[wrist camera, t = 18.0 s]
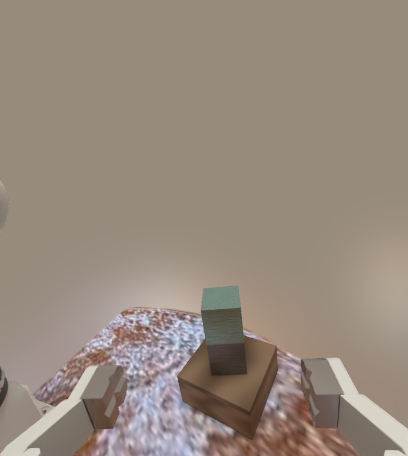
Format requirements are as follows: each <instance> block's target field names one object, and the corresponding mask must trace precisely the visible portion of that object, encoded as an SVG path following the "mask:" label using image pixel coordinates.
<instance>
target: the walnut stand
mask: <svg viewBox="0 0 408 456" xmlns="http://www.w3.org/2000/svg"><path fill="white" fill-rule="evenodd" d="M243 336H244V335H243ZM244 346H245V356H246V366H247V374H244V375H221V376H211V370H210V364H209V358H208V351H207V345H206V339H205V340H204V341H203V342H202V344H201V345H200V346H199V348H198V349H197V350H196V352H195V353H194V354H193V356H192V357H191V358H190V360H189V361H188V362H187V364H186V365H185V366H184V368H183V369H182V370H181V372H180V373H179V374H178V376H177V377H178V382H179V386H180V391H181V395H182V400H183V401H184V402H185V403H187V404H189V405H191V406H193V407H194V408H196V409H198V410H200V411H202V412H203V413H205V414H207V415H209V416H211V417H212V418H214V419H216V420H218V421H220V422H221V423H223V424H225V425H227V426H229V427H230V428H232V429H234V430H236V431H238V432H239V433H241V434H243V435H245V436H247V437H248V438H250V439H252V440H253V437H254V434H255V431H256V429H257V426H258V423H259V420H260V418H261V415H262V412H263V409H264V407H265V404H266V401H267V398H268V396H269V393H270V390H271V387H272V385H273V382H274V379H275V376H276V374H277V371H278V367H277V346H275V345H272V344H269V343H266V342H263V341H260V340H257V339H253V338H250V337H247V336H244Z"/></svg>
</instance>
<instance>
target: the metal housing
mask: <svg viewBox="0 0 408 456" xmlns="http://www.w3.org/2000/svg"><path fill="white" fill-rule="evenodd" d="M201 314H202V320H203V327H204V333H205V339H206V345H207V351H208V358H209V364H210V370H211V376H221V375H244V374H247V366H246V356H245V346H244V336H243V326H242V316H241V306H240V298H239V290H238V286H228V287H216V288H204V289H203V297H202V305H201Z"/></svg>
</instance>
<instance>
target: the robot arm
mask: <svg viewBox="0 0 408 456" xmlns="http://www.w3.org/2000/svg"><path fill="white" fill-rule="evenodd" d="M9 209H10V207H9V198H8V194H7V192H6V190H5V187H4V185H3V184H2V182H1V180H0V234H1V232H2V231H3V229H4V227H5V226H6V223H7V220H8V216H9ZM301 368H302V371H303V372H302V373H301V383H302V389H303V393H304V396H305V399H306V400H307V401H308V402H309V412H310V415H311V418H312V421H313V424H314V427H315V428H333V429H338V431H339V432H340V433H341V434H342V435H343V436H344V438H345V439H346V440H347V441H348V442H349V443H350V444H351V445H352V446H353V448H354V449H355V450H356V451H357V452H358V453H359V454H360V455H361V456H408V429H407V428H406V427H404V426H403V425H402V424H400V423H399V422H398V421H397V420H395V419H394V418H393V417H391V416H390V415H389V414H387V413H386V412H385V411H384V410H382V409H381V408H380V407H379V406H377V405H376V404H375V403H373V402H372V401H371V400H370V399H368V398H367V397H366V396H364V395H359V393H358V391H357V389H356V388H355V386H354V384H353V382H352V380H351V378H350V376H349V375H348V373H347V371H346V369H345V367H344V366H343V364H342V362H341V360H340V359H339V358H326V359H325V358H317V359H302V360H301ZM122 373H123V369H122V366H89V367H88V368H86V370H85V372H84V373H83V375H82V377H81V378H80V380H79V382H78V383H77V385H76V386H75V388H74V390H73V391H72V393H71V395H70V396H69V398H68V400H64V401H62V402H61V403H60V404H59V405H57V406H56V407H54V406H52V405H49V404H46V403H44V402H41V401H39V400H36V399H35V398H34V397H33V395H32V393H31V392H30V390H29V388H28V387H27V386H26V385H25V384H24V385H21V384H18V383H15V382H11V381H7V379H6V377H5V373H4V371H3V370H2V368H1V366H0V456H73V455H74V454H75V452H76V451H77V450H78V449H79V448H80V447H81V445H82V444H83V443H84V442H85V441H86V440H87V439H88V437H89V436H90V435H91V434H92V433H93V432H94V429H113V428H114V425H115V423H116V420H117V418H118V415H119V408H118V407H119V406H120V405H121V404H122V403H123V402H124V399H125V396H126V391H127V382H126V378H125V377H123V376H122Z"/></svg>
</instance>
